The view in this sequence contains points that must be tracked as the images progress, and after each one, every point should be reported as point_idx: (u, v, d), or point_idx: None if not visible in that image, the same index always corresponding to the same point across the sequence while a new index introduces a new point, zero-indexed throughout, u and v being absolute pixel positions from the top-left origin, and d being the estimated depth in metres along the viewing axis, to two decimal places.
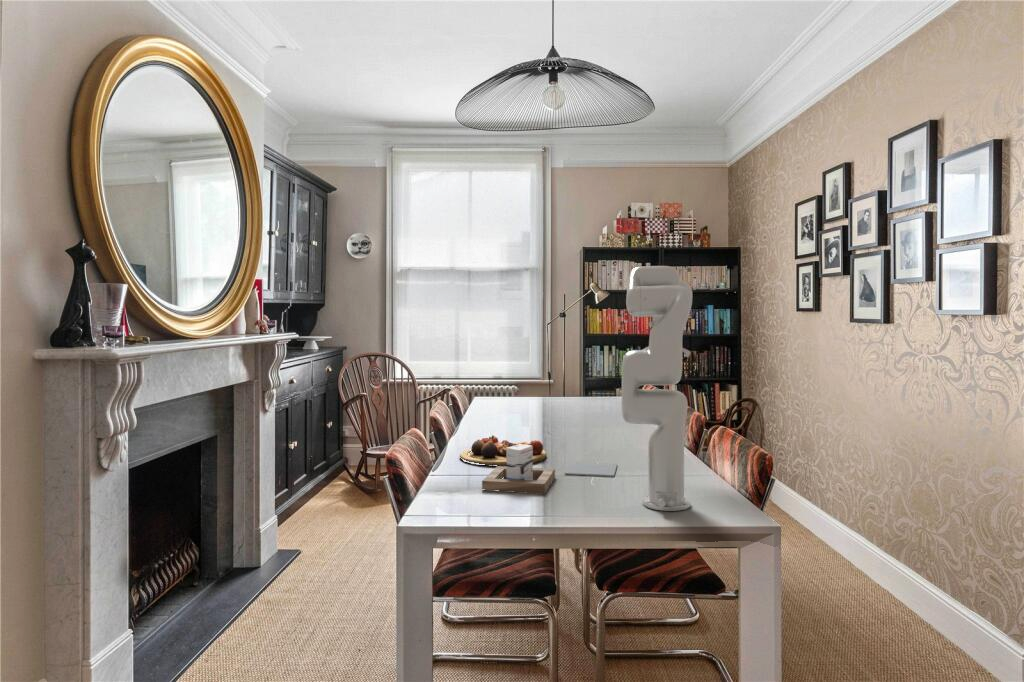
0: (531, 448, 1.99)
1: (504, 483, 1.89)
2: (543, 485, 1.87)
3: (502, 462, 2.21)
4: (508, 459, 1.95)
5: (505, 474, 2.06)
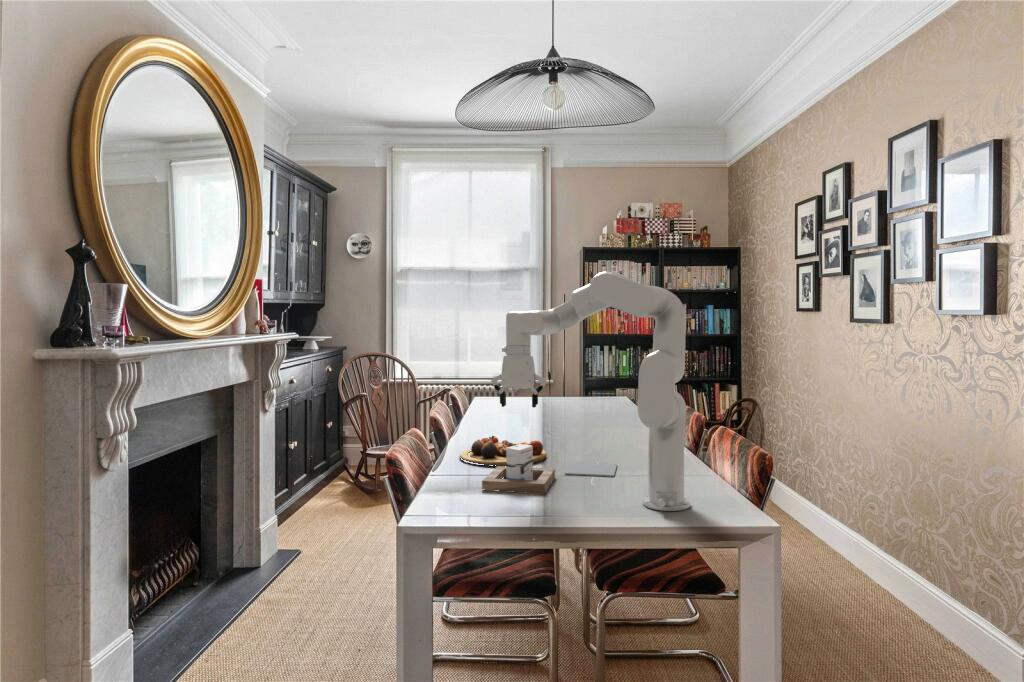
0: (531, 448, 1.99)
1: (504, 483, 1.89)
2: (543, 485, 1.87)
3: (502, 462, 2.20)
4: (508, 459, 1.95)
5: (505, 474, 2.06)
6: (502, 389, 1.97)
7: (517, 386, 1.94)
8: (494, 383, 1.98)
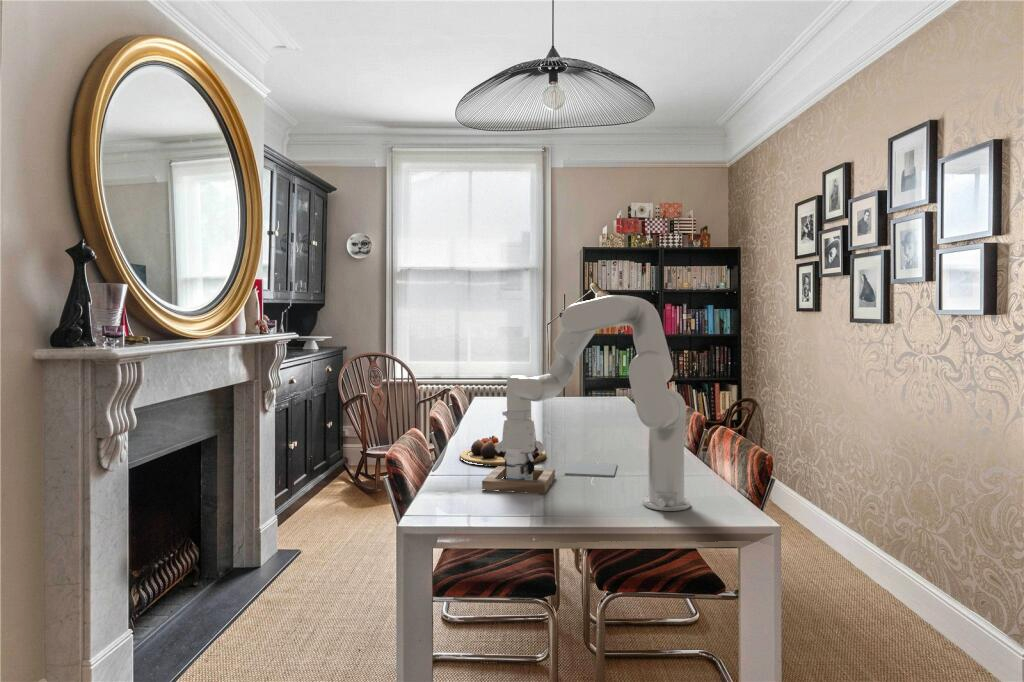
0: None
1: (504, 483, 1.89)
2: (543, 485, 1.87)
3: (501, 462, 2.20)
4: (508, 459, 1.95)
5: (505, 474, 2.06)
6: None
7: None
8: (498, 450, 1.99)
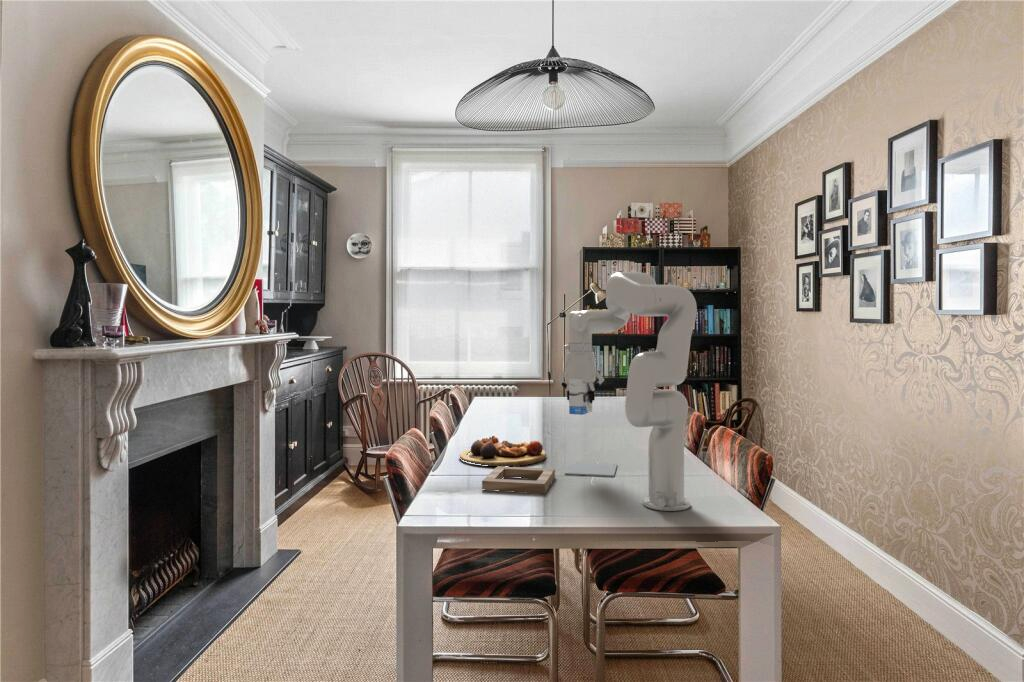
0: None
1: (504, 483, 1.89)
2: (543, 485, 1.87)
3: (500, 463, 2.20)
4: (571, 388, 2.09)
5: (505, 474, 2.06)
6: None
7: None
8: (561, 381, 2.12)
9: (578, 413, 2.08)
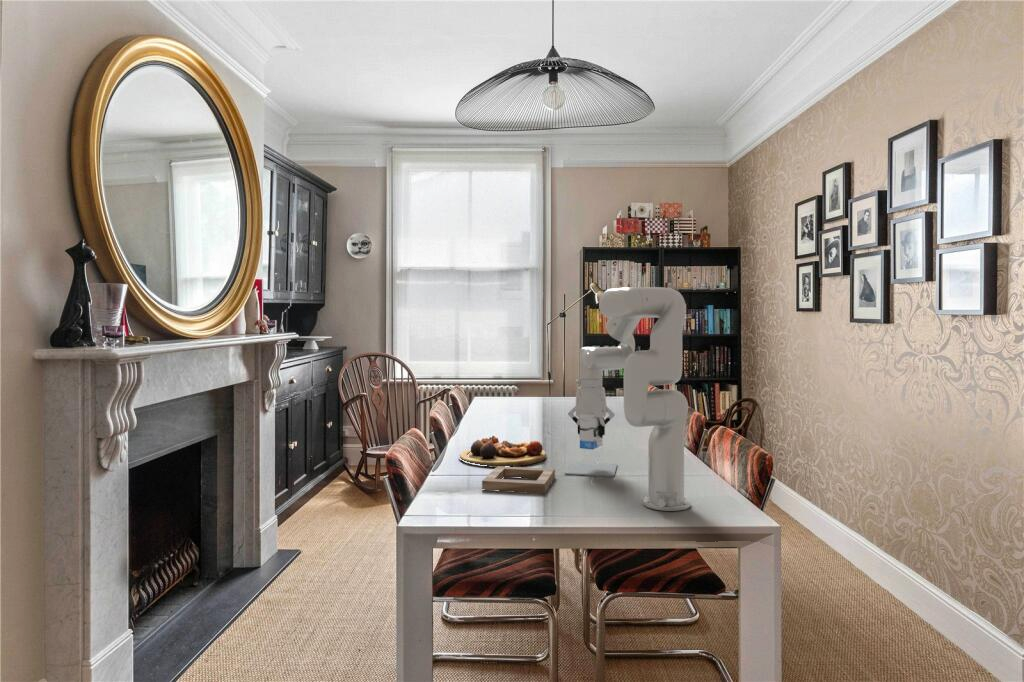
0: None
1: (504, 483, 1.89)
2: (543, 485, 1.87)
3: (500, 463, 2.20)
4: (581, 423, 2.12)
5: (505, 474, 2.06)
6: (579, 420, 2.14)
7: None
8: (571, 415, 2.15)
9: (588, 448, 2.11)
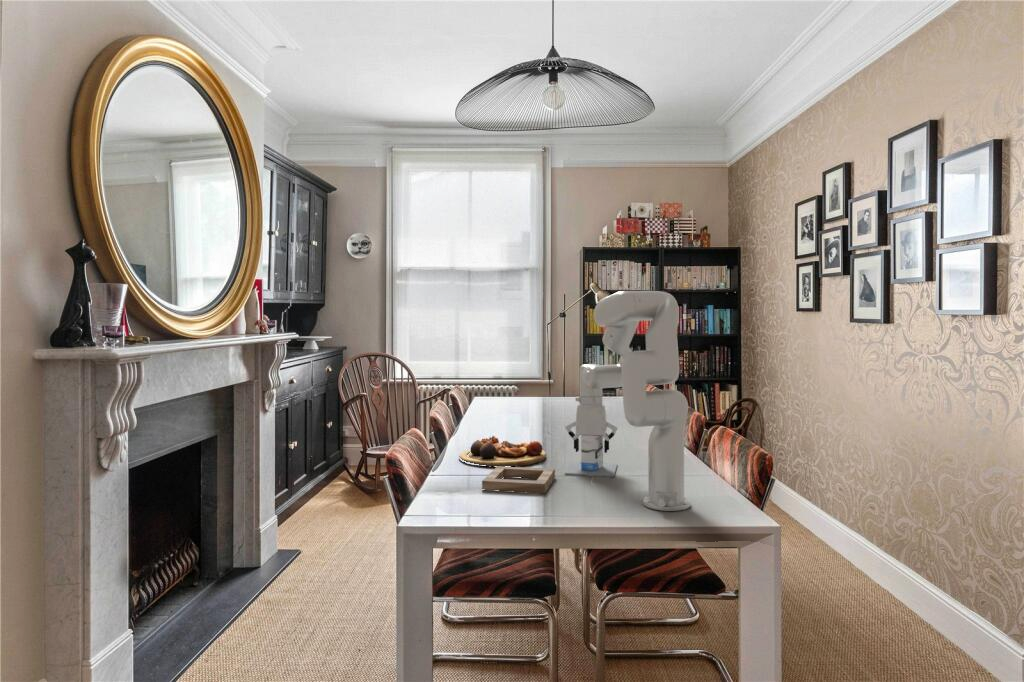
0: None
1: (504, 483, 1.89)
2: (543, 485, 1.87)
3: (500, 463, 2.19)
4: (583, 445, 2.12)
5: (505, 474, 2.06)
6: (576, 436, 2.15)
7: (591, 433, 2.12)
8: (568, 429, 2.16)
9: (590, 470, 2.11)
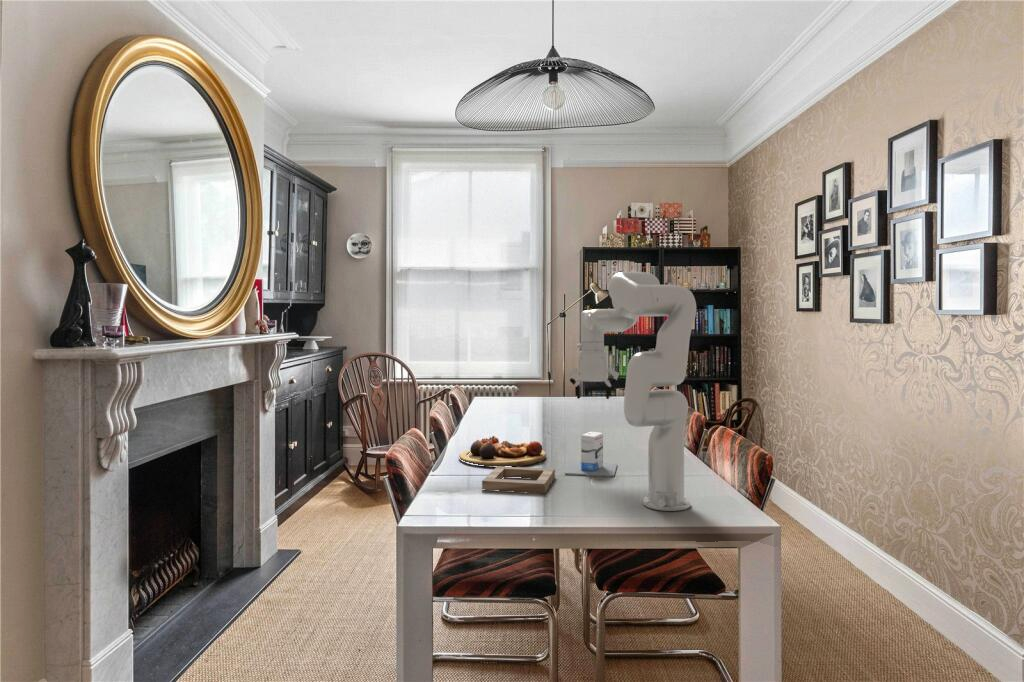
0: (602, 435, 2.16)
1: (504, 483, 1.89)
2: (543, 485, 1.87)
3: (499, 463, 2.19)
4: (583, 445, 2.12)
5: (505, 474, 2.06)
6: (578, 382, 2.13)
7: (592, 379, 2.10)
8: (570, 376, 2.14)
9: (590, 470, 2.11)
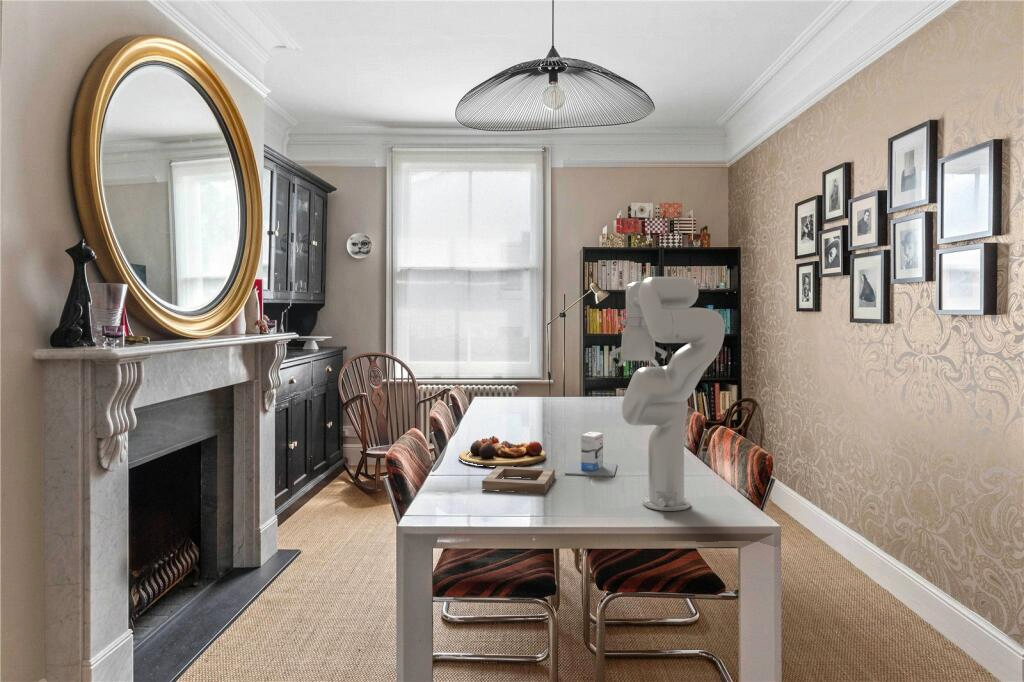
0: (602, 435, 2.16)
1: (504, 483, 1.89)
2: (543, 485, 1.87)
3: (499, 463, 2.19)
4: (583, 445, 2.12)
5: (505, 474, 2.06)
6: (622, 361, 1.96)
7: (638, 358, 1.94)
8: (613, 355, 1.98)
9: (590, 470, 2.11)
